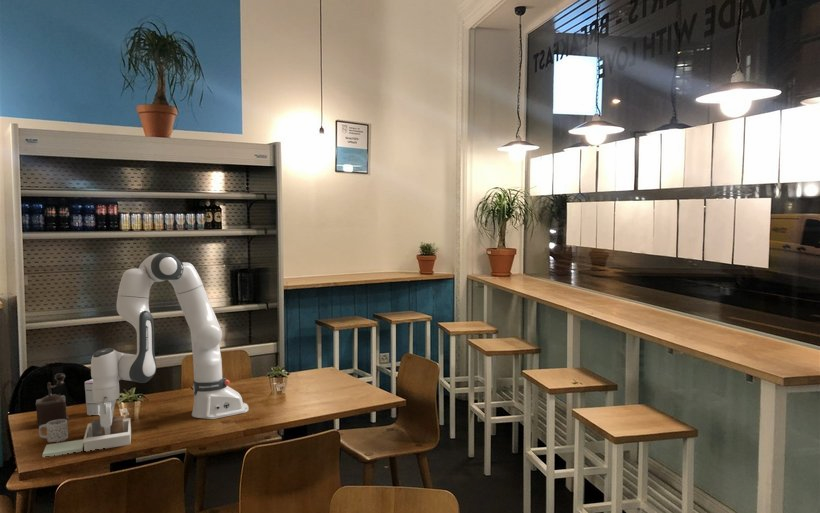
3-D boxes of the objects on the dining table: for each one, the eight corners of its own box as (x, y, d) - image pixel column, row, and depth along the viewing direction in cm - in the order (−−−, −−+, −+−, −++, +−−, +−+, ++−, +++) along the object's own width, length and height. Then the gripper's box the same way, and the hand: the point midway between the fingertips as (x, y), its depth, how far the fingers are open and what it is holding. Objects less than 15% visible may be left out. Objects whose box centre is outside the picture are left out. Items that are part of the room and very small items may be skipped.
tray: (131, 429, 237) (130, 417, 237) (130, 447, 218) (129, 434, 218) (88, 435, 231) (87, 423, 231) (83, 454, 212) (83, 441, 212)
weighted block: (124, 436, 229) (122, 415, 228) (123, 441, 224) (122, 419, 224) (93, 441, 225) (92, 419, 224) (92, 445, 220) (91, 423, 220)
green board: (84, 442, 224) (84, 439, 224) (82, 451, 215) (82, 448, 215) (46, 448, 219) (46, 444, 219) (42, 457, 210) (42, 454, 210)
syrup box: (98, 415, 255) (96, 381, 255) (86, 415, 257) (84, 381, 256) (108, 411, 261) (106, 377, 260) (95, 411, 262) (94, 377, 261)
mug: (71, 436, 232) (70, 418, 231) (62, 442, 225) (61, 424, 224) (44, 437, 231) (43, 419, 231) (34, 443, 225) (33, 425, 224)
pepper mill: (69, 423, 247) (66, 379, 246) (37, 428, 241) (34, 383, 240) (68, 413, 260) (65, 371, 259) (37, 418, 255) (34, 375, 253)
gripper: (114, 400, 215) (116, 439, 216) (116, 386, 234) (118, 422, 235) (94, 402, 213) (96, 442, 214) (98, 388, 232) (100, 424, 232)
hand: (108, 431), depth 224 cm, fingers closed on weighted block, 5 cm apart
